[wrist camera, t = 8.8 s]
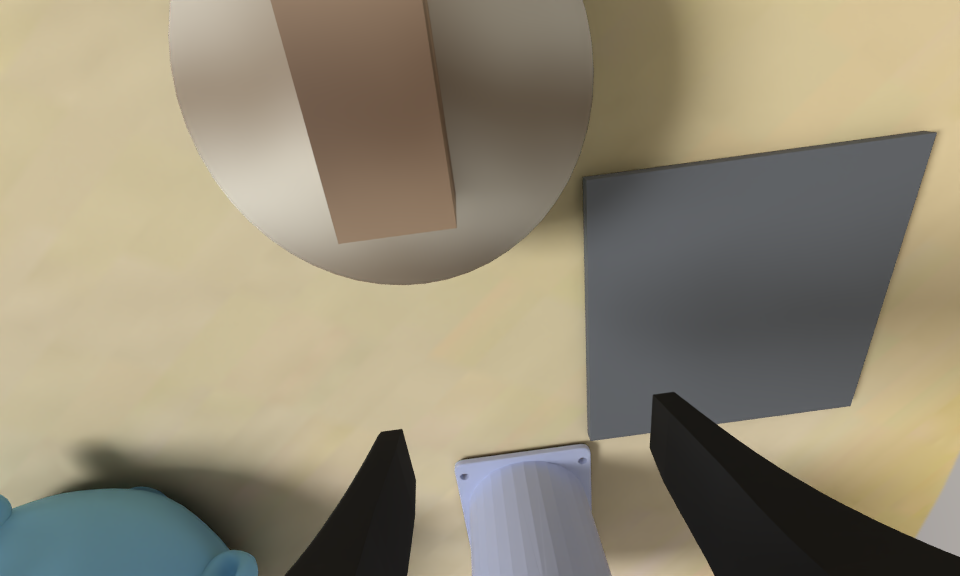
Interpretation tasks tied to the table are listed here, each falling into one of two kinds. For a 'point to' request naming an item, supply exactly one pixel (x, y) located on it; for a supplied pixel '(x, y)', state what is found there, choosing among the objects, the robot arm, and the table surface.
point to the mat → (742, 278)
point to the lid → (387, 123)
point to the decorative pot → (113, 537)
